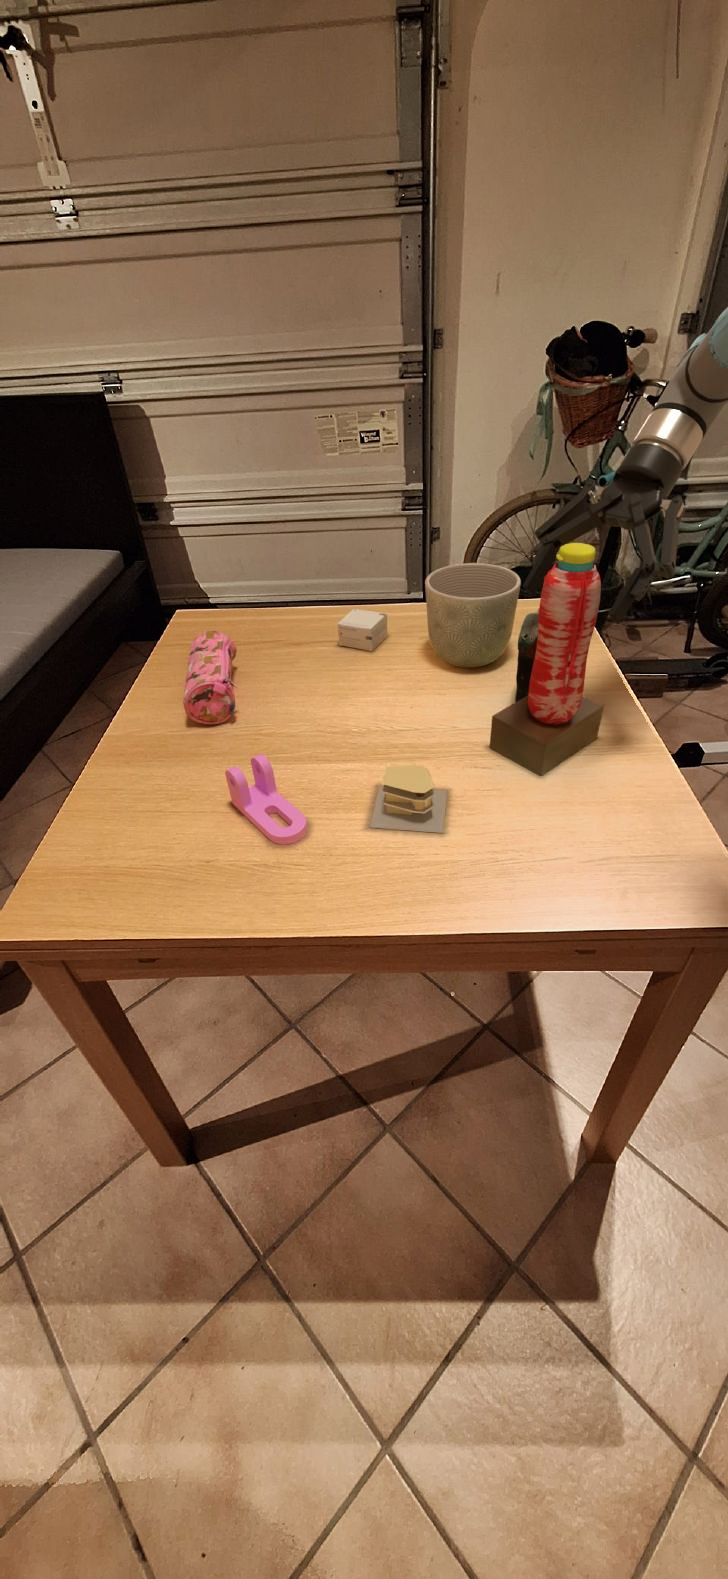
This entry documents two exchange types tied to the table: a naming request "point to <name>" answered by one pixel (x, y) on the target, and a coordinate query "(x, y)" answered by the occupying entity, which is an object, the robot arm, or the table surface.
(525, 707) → the walnut stand
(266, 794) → the bracket
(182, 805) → the table surface
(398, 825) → the stacked layers on plate
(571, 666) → the water bottle
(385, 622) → the small box
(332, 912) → the table surface
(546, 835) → the table surface
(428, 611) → the planter
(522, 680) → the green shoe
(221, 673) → the pencil case
